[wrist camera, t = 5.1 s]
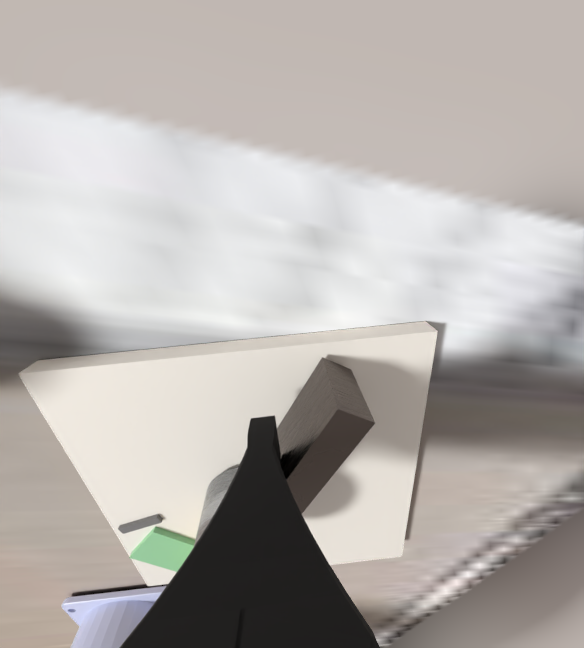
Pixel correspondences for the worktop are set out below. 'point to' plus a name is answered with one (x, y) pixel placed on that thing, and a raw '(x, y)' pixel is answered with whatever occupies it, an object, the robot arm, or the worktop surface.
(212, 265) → the worktop surface
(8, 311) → the worktop surface
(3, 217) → the worktop surface
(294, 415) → the dial pointer
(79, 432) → the board
